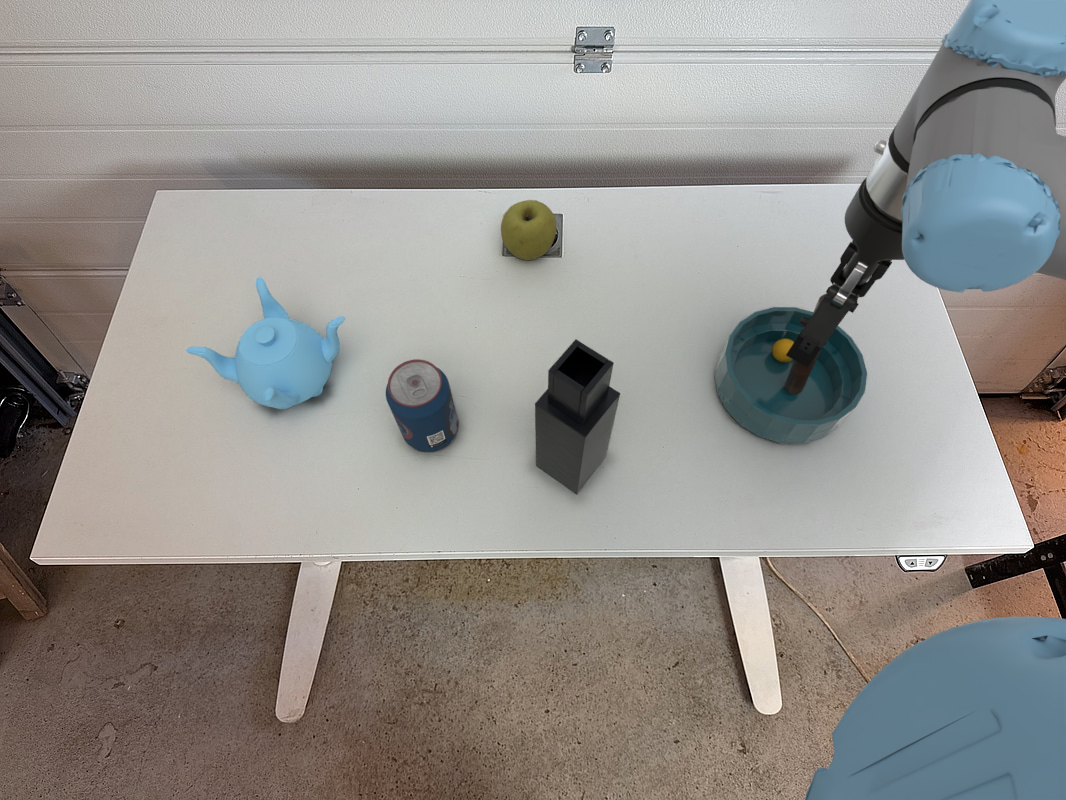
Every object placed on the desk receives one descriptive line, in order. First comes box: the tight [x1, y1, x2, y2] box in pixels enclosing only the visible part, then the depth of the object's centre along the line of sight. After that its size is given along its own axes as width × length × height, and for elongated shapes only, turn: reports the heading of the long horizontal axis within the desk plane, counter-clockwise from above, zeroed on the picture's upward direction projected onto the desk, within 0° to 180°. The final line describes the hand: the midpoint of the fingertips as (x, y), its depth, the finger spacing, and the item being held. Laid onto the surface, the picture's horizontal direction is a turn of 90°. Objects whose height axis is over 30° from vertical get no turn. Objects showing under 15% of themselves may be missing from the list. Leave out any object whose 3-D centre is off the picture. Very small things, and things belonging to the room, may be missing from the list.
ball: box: [772, 339, 794, 362], centre depth 80 cm, size 3×3×3 cm
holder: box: [534, 338, 621, 495], centre depth 66 cm, size 6×6×22 cm
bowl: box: [714, 306, 868, 445], centre depth 77 cm, size 16×16×6 cm
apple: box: [500, 199, 558, 261], centre depth 88 cm, size 8×8×7 cm
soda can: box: [385, 358, 460, 453], centre depth 72 cm, size 7×7×12 cm
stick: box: [784, 293, 826, 394], centre depth 72 cm, size 2×2×16 cm
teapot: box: [185, 276, 346, 410], centre depth 77 cm, size 13×13×10 cm
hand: (804, 350), depth 72 cm, fingers closed on stick, 2 cm apart
